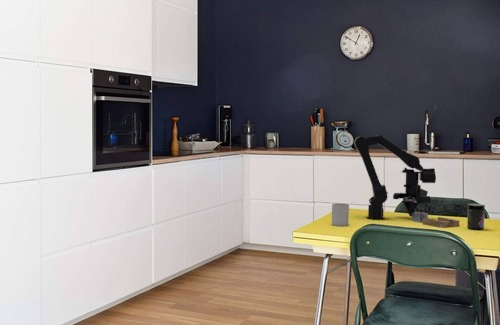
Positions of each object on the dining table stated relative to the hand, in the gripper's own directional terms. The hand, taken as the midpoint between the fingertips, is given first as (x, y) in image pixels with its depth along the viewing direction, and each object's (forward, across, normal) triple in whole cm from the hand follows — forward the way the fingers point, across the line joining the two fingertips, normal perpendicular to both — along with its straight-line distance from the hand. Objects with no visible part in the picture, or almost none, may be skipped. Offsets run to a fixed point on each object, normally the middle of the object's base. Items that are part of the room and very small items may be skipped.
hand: (411, 216), depth 291 cm
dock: (+2, -17, 0) cm, 17 cm away
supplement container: (+2, -32, -5) cm, 33 cm away
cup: (+2, +3, +40) cm, 40 cm away
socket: (+2, -5, 0) cm, 6 cm away
